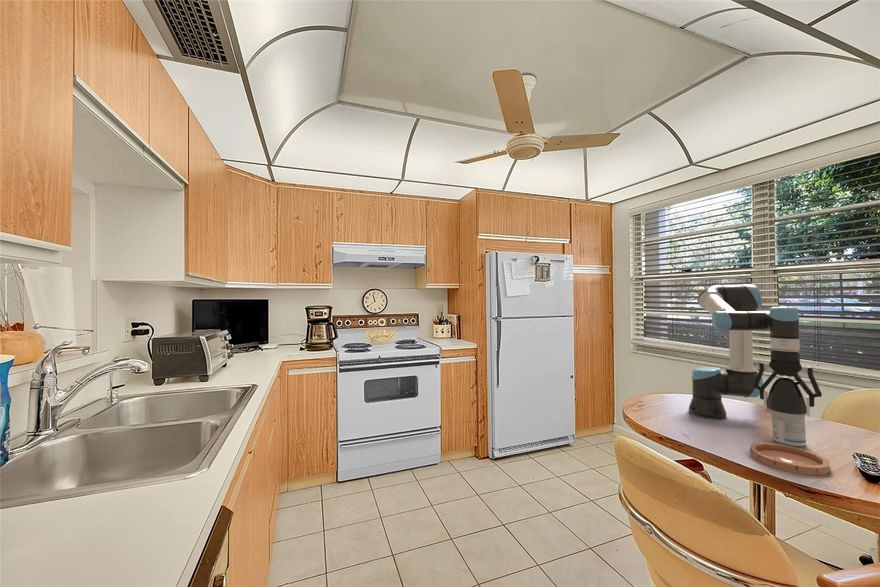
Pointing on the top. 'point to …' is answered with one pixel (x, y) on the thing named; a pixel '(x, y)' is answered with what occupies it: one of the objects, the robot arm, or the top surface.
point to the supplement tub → (789, 432)
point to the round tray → (790, 458)
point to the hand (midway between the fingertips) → (786, 411)
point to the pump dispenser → (786, 400)
